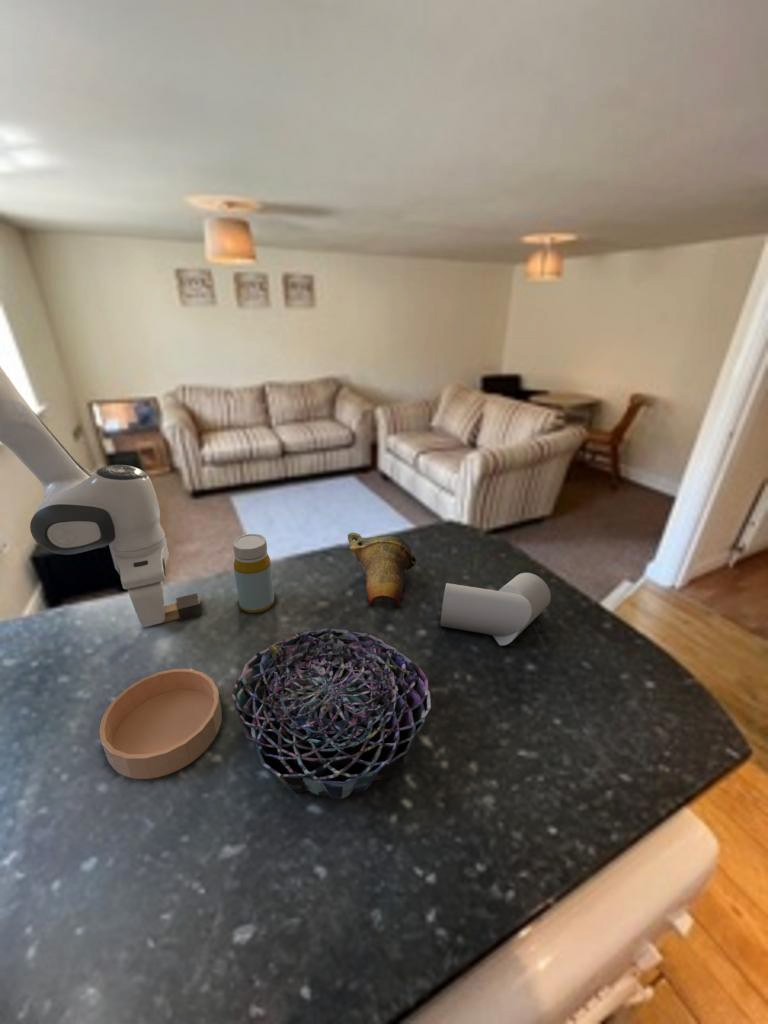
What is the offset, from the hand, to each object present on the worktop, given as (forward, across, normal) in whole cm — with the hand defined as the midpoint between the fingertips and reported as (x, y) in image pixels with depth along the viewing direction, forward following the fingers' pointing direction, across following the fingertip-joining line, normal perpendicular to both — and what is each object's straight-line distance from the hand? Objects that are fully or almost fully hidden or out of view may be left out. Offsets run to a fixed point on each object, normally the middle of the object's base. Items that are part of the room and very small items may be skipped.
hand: (155, 615), depth 86 cm
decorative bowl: (+2, +38, +21) cm, 43 cm away
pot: (+2, +7, +46) cm, 46 cm away
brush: (+2, 0, +2) cm, 3 cm away
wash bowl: (+2, +27, 0) cm, 27 cm away
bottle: (+2, +3, +19) cm, 19 cm away
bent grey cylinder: (+2, +29, +58) cm, 65 cm away
